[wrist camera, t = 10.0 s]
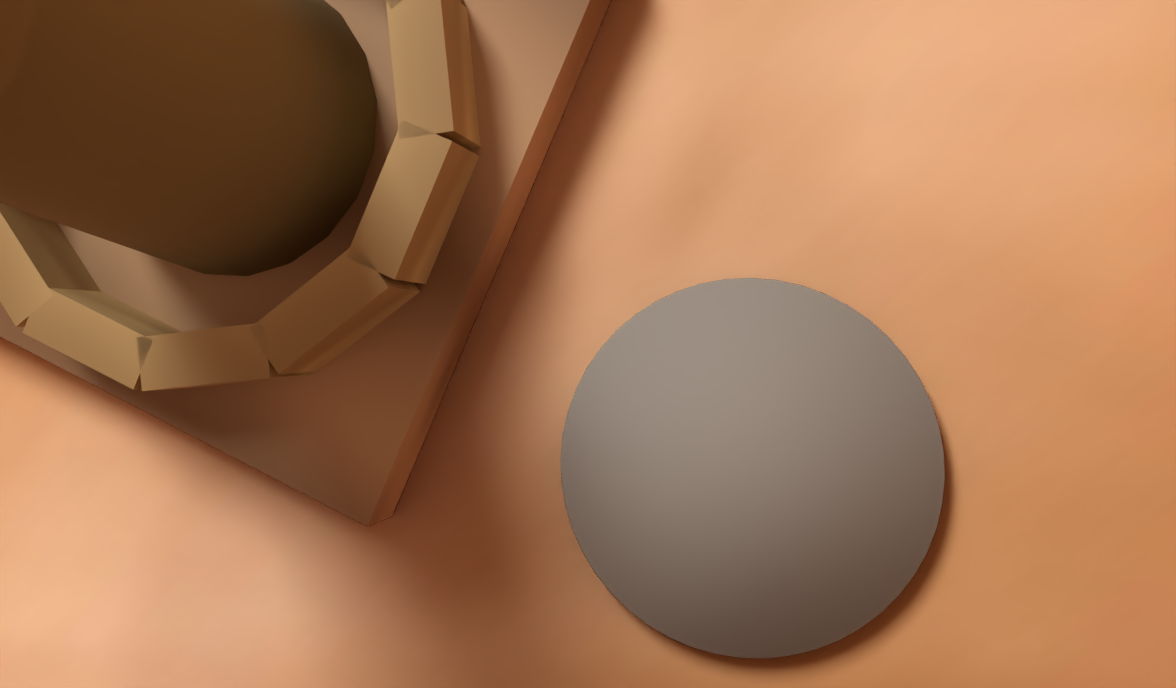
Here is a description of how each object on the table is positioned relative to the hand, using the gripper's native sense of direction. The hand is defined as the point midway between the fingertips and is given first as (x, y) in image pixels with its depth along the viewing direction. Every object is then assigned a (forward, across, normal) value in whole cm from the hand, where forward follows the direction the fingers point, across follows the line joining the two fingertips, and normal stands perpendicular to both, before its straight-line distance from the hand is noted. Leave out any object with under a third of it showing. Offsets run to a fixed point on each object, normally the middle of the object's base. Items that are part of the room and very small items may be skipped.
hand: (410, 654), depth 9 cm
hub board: (+14, +6, +2) cm, 16 cm away
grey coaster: (+9, -4, +5) cm, 12 cm away
